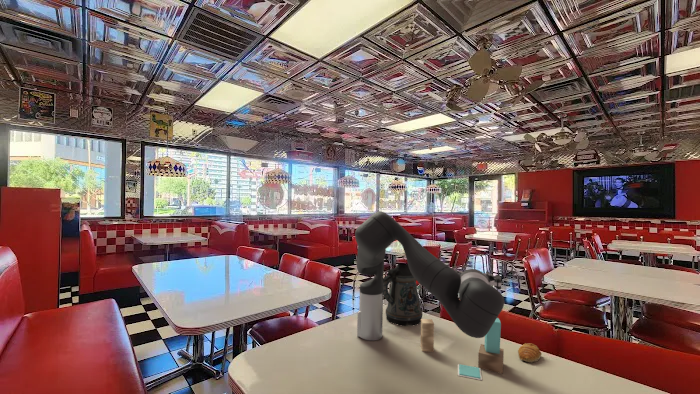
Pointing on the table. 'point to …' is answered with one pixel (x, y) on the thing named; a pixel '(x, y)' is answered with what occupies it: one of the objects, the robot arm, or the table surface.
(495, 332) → the teal block
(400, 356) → the table surface
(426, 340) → the oak block
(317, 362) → the table surface
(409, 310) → the beer stein
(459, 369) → the tile
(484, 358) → the walnut block
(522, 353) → the pastry
